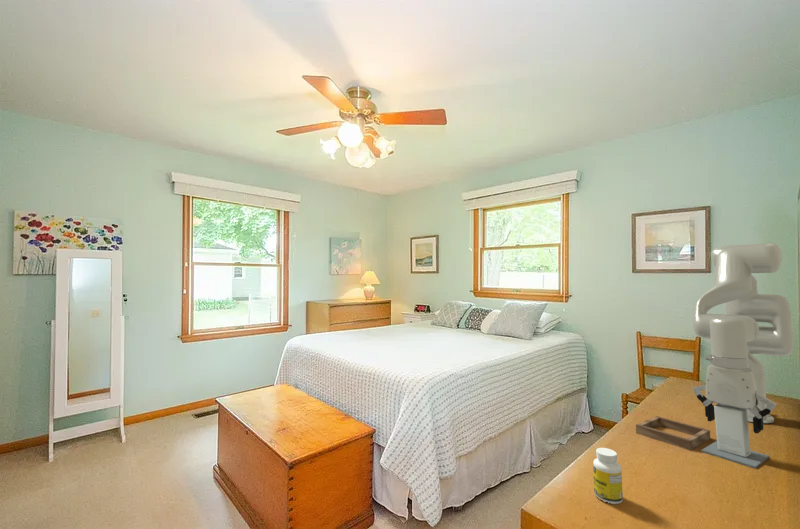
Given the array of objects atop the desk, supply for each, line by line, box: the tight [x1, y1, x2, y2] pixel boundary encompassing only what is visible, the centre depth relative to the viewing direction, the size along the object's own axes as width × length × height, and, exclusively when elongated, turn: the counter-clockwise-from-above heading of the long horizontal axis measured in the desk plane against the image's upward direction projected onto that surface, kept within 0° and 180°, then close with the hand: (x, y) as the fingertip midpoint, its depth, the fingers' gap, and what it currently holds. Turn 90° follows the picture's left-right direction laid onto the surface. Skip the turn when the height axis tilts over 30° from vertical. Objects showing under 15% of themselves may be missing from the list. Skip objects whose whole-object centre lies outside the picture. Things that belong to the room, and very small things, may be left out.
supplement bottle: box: [592, 447, 624, 505], centre depth 79 cm, size 5×5×10 cm
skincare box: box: [713, 403, 752, 457], centre depth 99 cm, size 6×4×12 cm
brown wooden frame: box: [635, 415, 711, 451], centre depth 111 cm, size 14×14×2 cm
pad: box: [701, 440, 770, 470], centre depth 98 cm, size 11×11×1 cm
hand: (733, 425), depth 99 cm, fingers open, 9 cm apart
